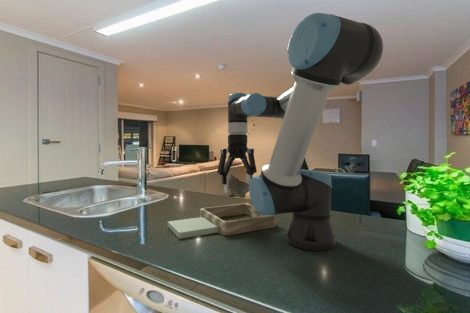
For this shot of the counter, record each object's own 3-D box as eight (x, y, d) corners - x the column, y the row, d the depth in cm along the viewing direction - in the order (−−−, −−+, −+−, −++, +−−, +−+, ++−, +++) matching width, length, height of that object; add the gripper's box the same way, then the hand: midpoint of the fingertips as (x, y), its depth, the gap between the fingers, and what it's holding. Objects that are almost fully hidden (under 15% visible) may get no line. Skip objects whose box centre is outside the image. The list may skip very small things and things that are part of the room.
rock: (244, 196, 97) (227, 174, 101) (233, 206, 100) (218, 185, 103) (258, 191, 107) (243, 172, 110) (249, 201, 109) (234, 181, 113)
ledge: (217, 232, 97) (217, 226, 96) (179, 238, 90) (179, 232, 90) (202, 221, 109) (202, 216, 109) (167, 226, 102) (167, 221, 102)
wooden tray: (276, 226, 104) (277, 214, 104) (223, 235, 93) (224, 222, 93) (246, 212, 123) (246, 202, 123) (199, 219, 113) (199, 208, 112)
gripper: (255, 135, 115) (255, 188, 116) (207, 133, 104) (207, 192, 105) (266, 134, 108) (265, 191, 109) (216, 133, 98) (216, 195, 99)
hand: (237, 191), depth 107 cm, fingers closed on rock, 9 cm apart
